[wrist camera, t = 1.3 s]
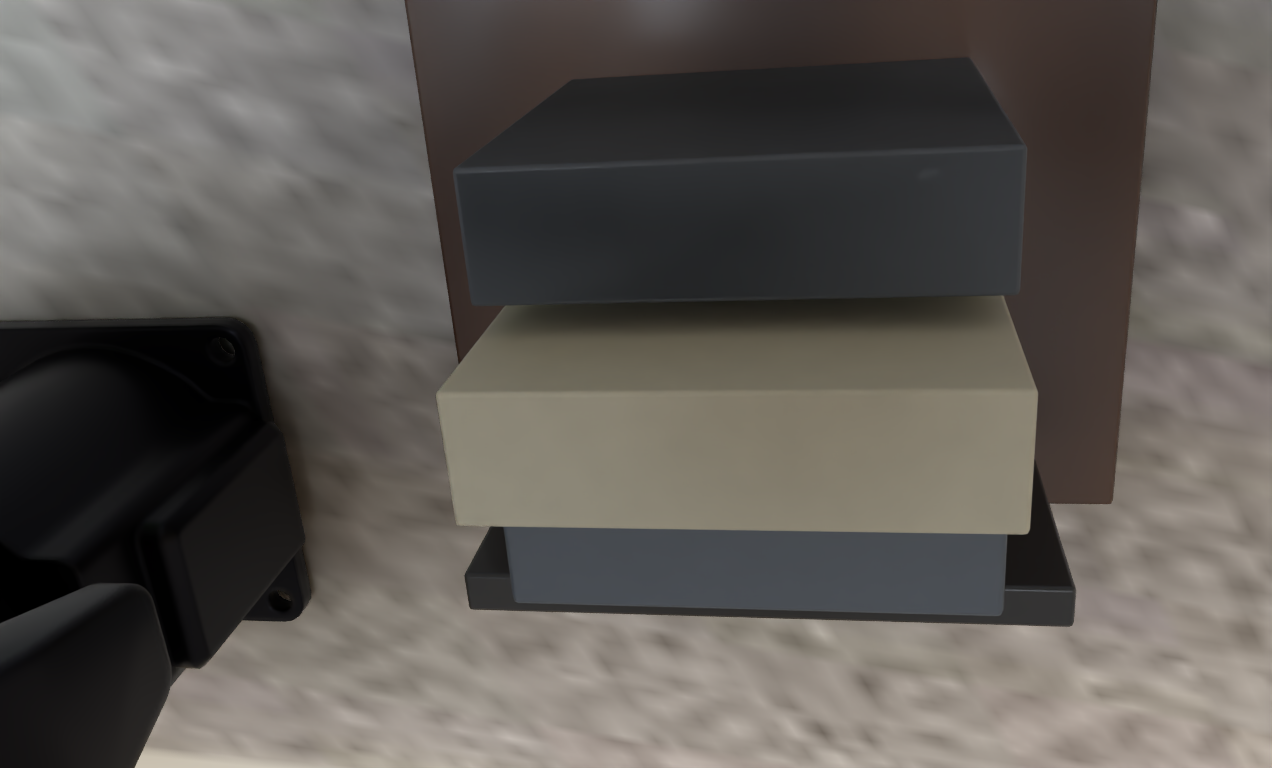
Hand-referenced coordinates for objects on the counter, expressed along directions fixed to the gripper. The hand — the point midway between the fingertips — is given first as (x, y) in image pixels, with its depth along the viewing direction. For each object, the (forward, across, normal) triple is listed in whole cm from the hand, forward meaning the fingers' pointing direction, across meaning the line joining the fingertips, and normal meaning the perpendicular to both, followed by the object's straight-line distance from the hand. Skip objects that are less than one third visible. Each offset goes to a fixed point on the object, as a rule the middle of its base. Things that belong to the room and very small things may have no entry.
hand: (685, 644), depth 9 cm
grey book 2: (+11, 0, -2) cm, 11 cm away
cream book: (+11, 0, 0) cm, 11 cm away
